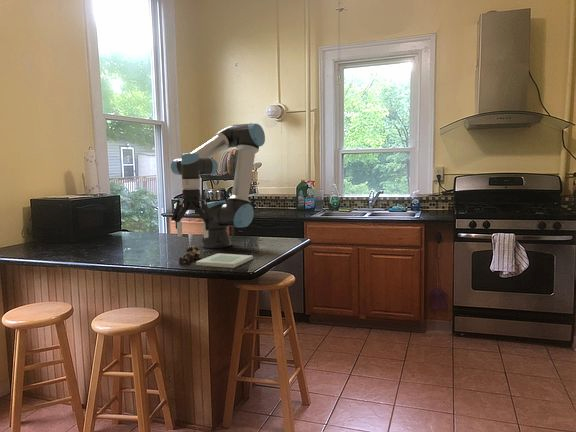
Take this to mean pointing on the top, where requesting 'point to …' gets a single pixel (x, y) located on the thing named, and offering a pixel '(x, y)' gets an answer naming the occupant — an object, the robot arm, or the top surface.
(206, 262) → the baseplate
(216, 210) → the robot arm
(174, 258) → the top surface
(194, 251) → the toy
